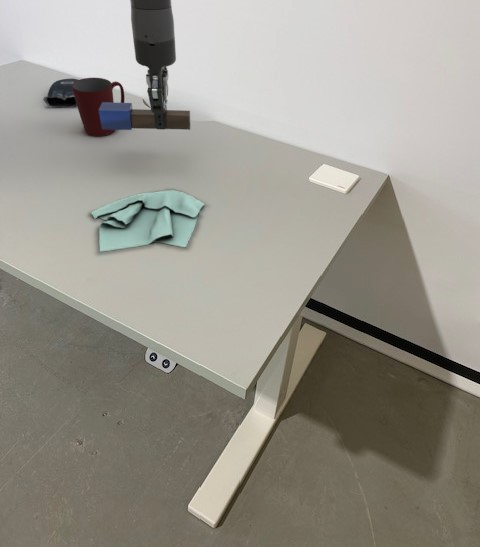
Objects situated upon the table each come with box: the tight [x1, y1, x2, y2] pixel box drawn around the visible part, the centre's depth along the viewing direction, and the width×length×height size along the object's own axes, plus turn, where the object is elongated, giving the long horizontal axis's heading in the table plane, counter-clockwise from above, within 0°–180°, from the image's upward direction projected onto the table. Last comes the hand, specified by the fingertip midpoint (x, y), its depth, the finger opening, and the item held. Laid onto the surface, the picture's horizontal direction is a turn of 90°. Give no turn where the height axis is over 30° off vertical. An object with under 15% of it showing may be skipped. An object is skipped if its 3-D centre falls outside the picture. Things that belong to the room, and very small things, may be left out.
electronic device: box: [43, 77, 79, 108], centre depth 117 cm, size 9×6×15 cm
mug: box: [72, 77, 125, 137], centre depth 102 cm, size 12×9×11 cm
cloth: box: [91, 189, 206, 253], centre depth 79 cm, size 20×22×2 cm
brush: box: [99, 102, 191, 131], centre depth 87 cm, size 4×18×4 cm, turn 93°
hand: (161, 125), depth 88 cm, fingers closed on brush, 2 cm apart
